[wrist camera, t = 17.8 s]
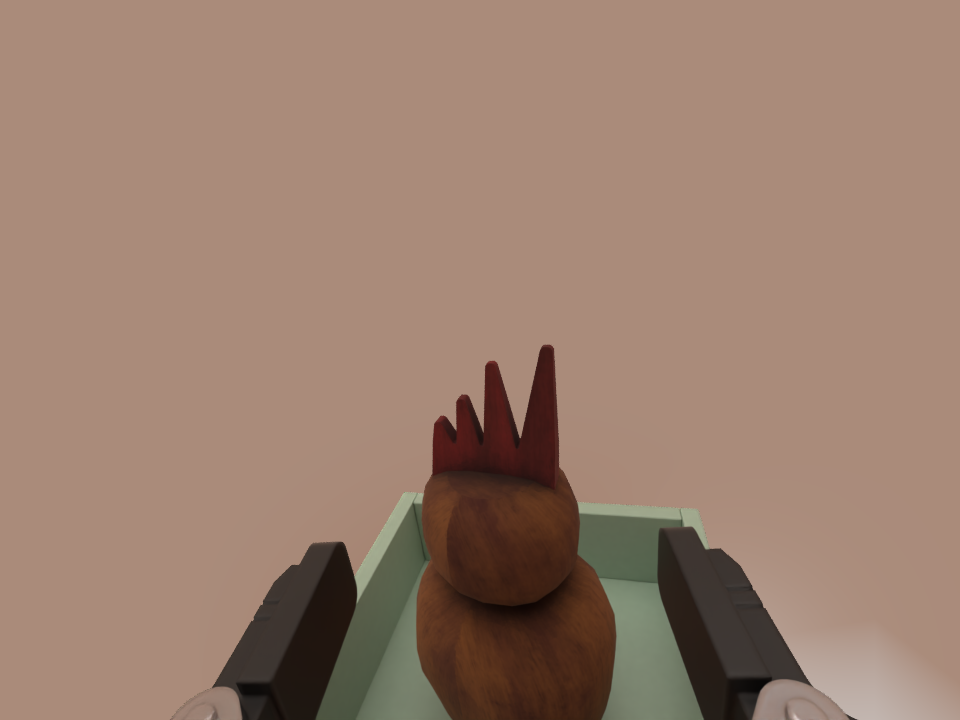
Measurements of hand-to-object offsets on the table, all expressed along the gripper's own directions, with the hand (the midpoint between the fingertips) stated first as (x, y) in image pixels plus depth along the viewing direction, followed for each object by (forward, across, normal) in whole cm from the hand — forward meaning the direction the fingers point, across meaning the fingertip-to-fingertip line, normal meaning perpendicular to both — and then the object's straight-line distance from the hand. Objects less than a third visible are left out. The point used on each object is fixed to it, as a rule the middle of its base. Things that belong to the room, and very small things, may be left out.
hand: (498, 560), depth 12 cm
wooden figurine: (+2, 0, +10) cm, 10 cm away
